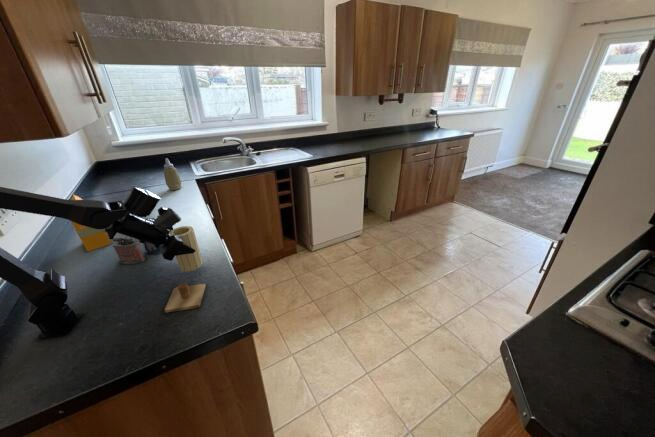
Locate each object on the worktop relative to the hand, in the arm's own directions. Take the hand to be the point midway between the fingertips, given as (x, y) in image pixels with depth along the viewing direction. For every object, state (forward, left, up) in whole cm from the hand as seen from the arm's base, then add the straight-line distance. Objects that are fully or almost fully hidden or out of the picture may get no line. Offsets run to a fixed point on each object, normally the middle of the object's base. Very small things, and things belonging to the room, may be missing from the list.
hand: (191, 246), depth 86 cm
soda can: (-18, +16, -9) cm, 26 cm away
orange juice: (-43, +26, -9) cm, 51 cm away
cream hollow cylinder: (-1, -1, -7) cm, 7 cm away
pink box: (-24, +10, -9) cm, 28 cm away
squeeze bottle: (-30, +83, -9) cm, 89 cm away
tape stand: (0, -14, -9) cm, 16 cm away
